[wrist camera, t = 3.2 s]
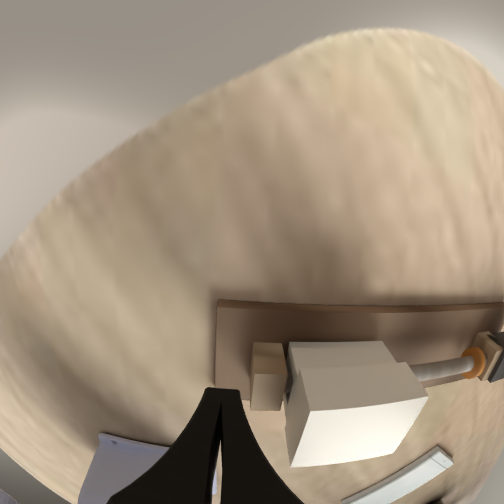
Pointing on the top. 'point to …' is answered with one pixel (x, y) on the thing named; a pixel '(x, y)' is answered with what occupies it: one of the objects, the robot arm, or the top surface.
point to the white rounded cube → (347, 402)
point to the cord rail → (354, 330)
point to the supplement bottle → (437, 502)
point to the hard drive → (404, 479)
